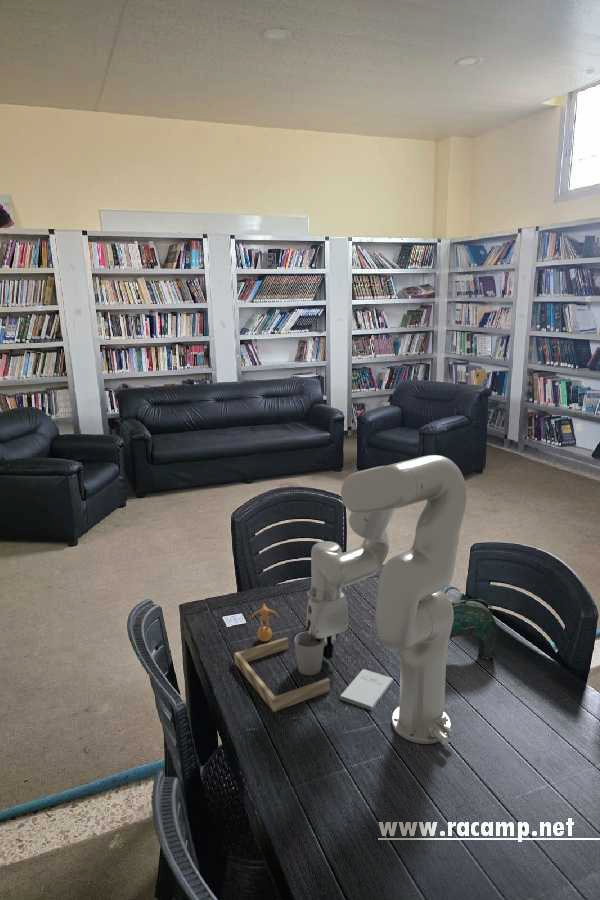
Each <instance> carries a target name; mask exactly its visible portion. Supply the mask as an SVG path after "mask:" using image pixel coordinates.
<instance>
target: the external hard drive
mask: <svg viewBox="0 0 600 900" xmlns="http://www.w3.org/2000/svg"><path fill="white" fill-rule="evenodd" d="M393 682H394V678H393V677H390V676H387V675H384V674H381V673H378V672H374V671H371V670H368V669H361V671H360V672H359V673H358V674H357V675H356V676H355V678H354V679H353V680H352V681H351V682H350V684H349V685H348V686H347V687H346V688H345V689H344V690H343V692H342V693H341V694H340V696H339V699H340V700H341V701H344V702H346V703H349V704H352V705H355V706H358V707H360V708H363V709H366V710H369V711H373V710H374V709H375V707H376V706H377V704H379V702H380V700H381V699H382V697H384V695H385V693H386V692H387V691H388V689H389V688H390V687H391V685H392V684H393Z"/></svg>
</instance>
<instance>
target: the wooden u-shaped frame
mask: <svg viewBox="0 0 600 900" xmlns="http://www.w3.org/2000/svg"><path fill="white" fill-rule="evenodd" d="M288 649H289V638H288V637H287V636H285V637H282V638H279V639H276V640H273V641H269V642H266V643H263V644H260V645H257V646H253V647H250V648H245V649H243V650H239V651H237V652H234V664H235V666H236V667H238V669H239V671H240V672H241V673H242V674H243V675H244V677H245V678H246V680H247V681H248V682H249V683H250V684H251V686H252V687H253V688H254V689H255V690H256V692H257V693H258V694H259V696H260V697H261V698H262V699H263V701H264V702H265V703H266V704H267V706H268V707H269V708H270V709H271V711H272V712H274V713H275V712H277V711H280V710H282V709H285V708H287V707H291V706H294V705H296V704H299V703H301V702H302V703H303V702H304V701H307V700H310V699H313V698H315V697H319V696H322V695H324V694H327V693H329V692H330V691H331V690H330V689H331V688H330V687H331V681H330V678H328V677H326V678H323V679H320V680H318V681H315V682H313V683H310V684H307V685H304V686H301V687H298V688H296V689H293V690H290V691H287V692H284V693H282V694H279V695H275V694H273V692H272V691H271V689H269V687H268V686H267V685H266V684H265V682H264V681H263V680H262V679H261V678H260V676H259V675H258V674H257V673H256V671H255V670H254V669H253V668H252V667H251V666H250V665H249V663H248V662H251V661H256V660H258V659H261V658H264V657H267V656H270V655H274V654H277V653H280V652H283V651H287V650H288Z"/></svg>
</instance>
